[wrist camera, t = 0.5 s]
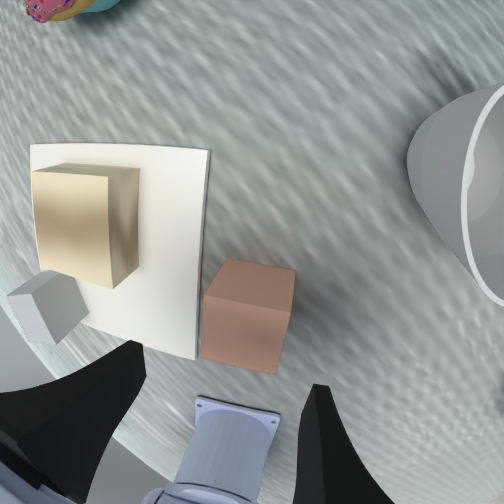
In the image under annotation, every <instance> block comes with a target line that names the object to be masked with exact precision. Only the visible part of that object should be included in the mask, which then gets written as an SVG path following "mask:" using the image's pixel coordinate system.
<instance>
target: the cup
mask: <svg viewBox="0 0 504 504" xmlns="http://www.w3.org/2000/svg"><path fill="white" fill-rule="evenodd" d="M407 170H408V175H409V180H410V184H411V188H412V191H413V193H414V196H415V198H416V200H417V202H418V203H419V205H420V206H421V208H422V209H423V211H424V213H425V214H426V216H427V217H428V219H429V221H430V222H431V224H432V226H433V227H434V229H435V231H436V232H437V234H438V235H439V237H440V238H441V239H442V240H443V241H444V243H445V244H446V245H447V246H448V247H449V248H450V250H451V251H452V252H453V253H454V254H455V256H456V257H457V258H458V259H459V260H460V262H461V263H462V264H463V265H464V267H465V268H466V269H467V270H468V272H469V273H470V274H471V275H472V277H473V278H474V279H475V281H476V282H477V283H478V285H479V286H480V287H481V288H482V290H483V291H484V292H485V293H486V295H487V296H488V297H489V298H491V299H492V300H493V301H494V302H496V303H497V304H499V305H501V306H504V82H503V83H500V84H496V85H493V86H490V87H487V88H484V89H481V90H478V91H475V92H472V93H469V94H466V95H463V96H460V97H458V98H457V99H455V100H453V101H452V102H450V103H449V104H447V105H446V106H444V107H443V108H441V109H440V110H438V111H437V112H435V113H434V114H432V115H431V116H429V117H428V118H427V119H426V120H425V121H424V122H423V123H422V124H421V125H420V127H419V128H418V130H417V131H416V133H415V135H414V137H413V139H412V141H411V143H410V145H409V148H408V152H407Z"/></svg>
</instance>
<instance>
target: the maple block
mask: <svg viewBox="0 0 504 504" xmlns="http://www.w3.org/2000/svg"><path fill="white" fill-rule="evenodd" d="M139 170H140V168H133V167H120V166H107V165H91V164H72V163H63V164H59V165H54V166H50V167H46V168H42V169H39V170H35V171H31V172H32V195H33V209H34V220H35V229H36V237H37V244H38V251H39V258H40V264H41V266H42V267H45V268H47V269H50V270H53V271H56V272H59V273H62V274H65V275H68V276H71V277H74V278H77V279H81V280H84V281H87V282H90V283H93V284H97V285H100V286H103V287H106V288H110V289H114V288H115V287H116V286H118V285H119V284H120V283H121V282H122V281H123V280H124V279H126V278H127V277H128V276H129V275H130V274H131V273H132V272H134V271H135V270H136V269H137V268H138V267H139V248H138V198H139Z"/></svg>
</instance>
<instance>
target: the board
mask: <svg viewBox="0 0 504 504" xmlns="http://www.w3.org/2000/svg"><path fill="white" fill-rule="evenodd" d="M210 152H211V150H208V149H198V148H187V147H175V146H162V145H145V144H124V143H43V144H32V145H31V154H30V160H31V171H35V170H39V169H42V168H46V167H50V166H54V165H59V164H63V163H72V164H91V165H107V166H120V167H133V168H140V170H139V198H138V248H139V267H138V268H137V269H136V270H135V271H134V272H132V273H131V274H130V275H129V276H128V277H127V278H126V279H124V280H123V281H122V282H121V283H120V284H119V285H118V286H116V287H115V288H114V289H110V288H106V287H103V286H100V285H97V284H93V283H90V282H87V281H84V280H81V279H77V278H75V280H76V283H77V285H78V288H79V290H80V292H81V295H82V297H83V299H84V301H85V304H86V306H87V308H88V310H89V312H90V313H89V314H88V315H87V316H86V317H85V318H84V319H83V320H82V321H80V323H82V324H85V325H87V326H90V327H92V328H95V329H98V330H100V331H103V332H106V333H108V334H111V335H114V336H117V337H120V338H123V339H125V340H128V341H129V340H133V341H136V342H139V343H142V344H143V346H147V347H150V348H153V349H156V350H159V351H163V352H166V353H169V354H173V355H176V356H180V357H183V358H187V359H191V360H194V361H195V359H196V357H197V341H198V313H199V292H200V273H201V257H202V242H203V229H204V216H205V204H206V193H207V182H208V171H209V162H210ZM31 192H32V172H31ZM32 206H33V195H32ZM33 218H34V209H33ZM34 227H35V220H34ZM35 235H36V229H35ZM36 243H37V237H36ZM37 250H38V244H37ZM38 256H39V251H38ZM39 262H40V258H39ZM40 268H41V272H43V271H48V270H50V269H47V268H45V267H42V266H41V264H40Z"/></svg>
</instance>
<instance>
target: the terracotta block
mask: <svg viewBox="0 0 504 504" xmlns="http://www.w3.org/2000/svg"><path fill="white" fill-rule="evenodd" d="M295 274H296V271H295V270H289V269H284V268H279V267H274V266H268V265H263V264H258V263H253V262H248V261H242V260H237V259H232V258H227V259H226V261H225V262H224V264H223V265H222V267H221V268H220V270H219V271H218V273H217V275H216V276H215V278H214V279H213V281H212V282H211V284H210V286H209V287H208V289H207V290H206V292H205V293H204V298H203V316H202V338H201V358H202V359H206V360H210V361H214V362H218V363H222V364H226V365H231V366H235V367H240V368H244V369H249V370H253V371H258V372H263V373H268V374H274V375H276V371H277V367H278V363H279V360H280V356H281V352H282V348H283V344H284V340H285V336H286V332H287V327H288V323H289V319H290V315H291V309H292V301H293V292H294V283H295Z"/></svg>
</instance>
